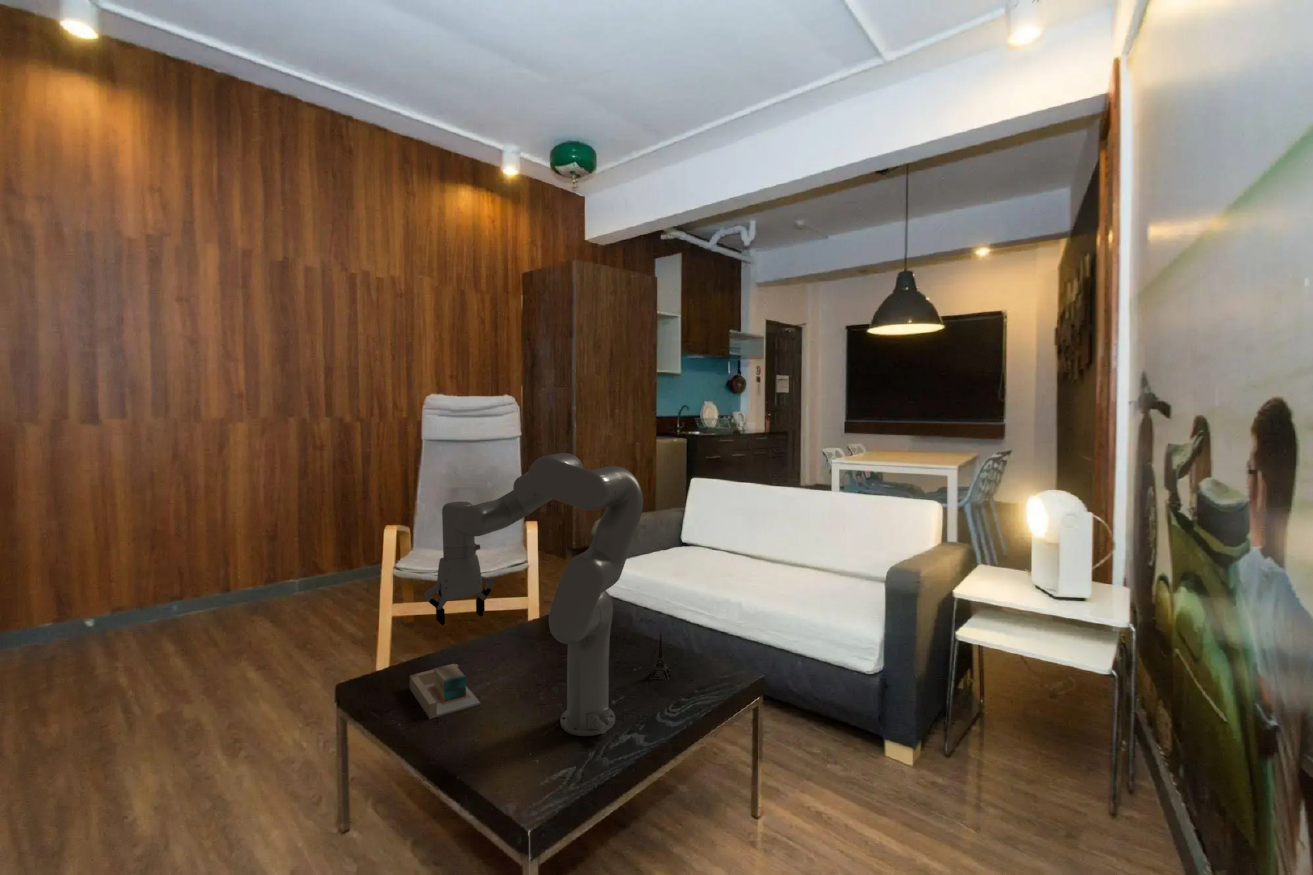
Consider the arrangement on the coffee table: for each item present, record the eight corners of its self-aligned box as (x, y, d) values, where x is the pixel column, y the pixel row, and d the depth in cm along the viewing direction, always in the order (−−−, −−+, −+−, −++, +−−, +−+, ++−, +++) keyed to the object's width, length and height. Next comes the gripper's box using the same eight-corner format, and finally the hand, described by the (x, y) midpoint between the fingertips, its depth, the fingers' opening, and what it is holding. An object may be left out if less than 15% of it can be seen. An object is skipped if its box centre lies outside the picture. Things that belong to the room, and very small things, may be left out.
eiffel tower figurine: (694, 682, 163) (695, 633, 162) (664, 693, 157) (665, 642, 156) (659, 662, 175) (660, 617, 174) (630, 672, 169) (631, 625, 168)
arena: (480, 704, 149) (480, 690, 148) (429, 719, 142) (429, 704, 141) (456, 676, 163) (456, 663, 163) (409, 688, 156) (409, 675, 156)
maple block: (453, 682, 159) (453, 663, 158) (465, 696, 152) (465, 676, 151) (434, 687, 156) (434, 668, 155) (445, 701, 149) (445, 681, 148)
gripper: (487, 544, 160) (488, 608, 161) (419, 554, 150) (421, 622, 151) (498, 549, 154) (499, 616, 155) (428, 560, 144) (430, 631, 145)
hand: (461, 619), depth 153 cm, fingers open, 9 cm apart
